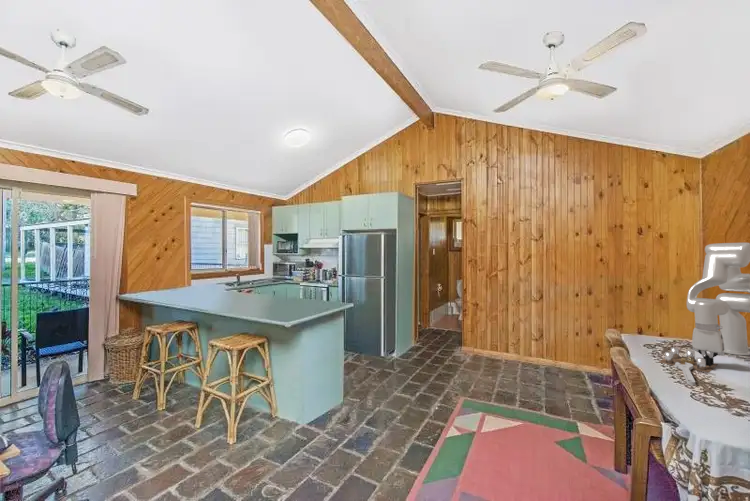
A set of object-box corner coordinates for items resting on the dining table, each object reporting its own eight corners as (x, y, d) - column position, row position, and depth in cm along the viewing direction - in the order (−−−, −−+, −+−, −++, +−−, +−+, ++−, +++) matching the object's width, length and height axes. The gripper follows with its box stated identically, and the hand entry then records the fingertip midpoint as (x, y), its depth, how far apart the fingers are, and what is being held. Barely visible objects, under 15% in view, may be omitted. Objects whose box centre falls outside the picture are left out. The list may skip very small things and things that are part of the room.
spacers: (672, 356, 167) (671, 347, 167) (713, 364, 154) (712, 354, 154) (663, 362, 160) (662, 352, 160) (705, 370, 147) (704, 360, 147)
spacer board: (669, 356, 169) (669, 355, 169) (718, 365, 153) (718, 364, 153) (658, 363, 160) (658, 362, 160) (708, 373, 145) (708, 372, 145)
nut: (679, 361, 160) (679, 357, 160) (692, 362, 157) (692, 358, 157) (682, 364, 156) (682, 359, 156) (695, 365, 154) (695, 361, 154)
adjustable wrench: (696, 386, 134) (696, 382, 134) (675, 382, 138) (675, 378, 138) (693, 366, 152) (692, 363, 152) (674, 364, 156) (674, 360, 156)
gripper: (731, 328, 146) (734, 367, 146) (687, 323, 159) (689, 359, 159) (727, 331, 142) (730, 371, 142) (682, 325, 155) (684, 362, 155)
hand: (708, 365), depth 150 cm, fingers closed
